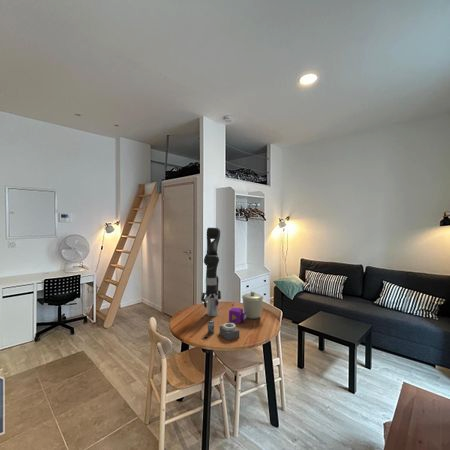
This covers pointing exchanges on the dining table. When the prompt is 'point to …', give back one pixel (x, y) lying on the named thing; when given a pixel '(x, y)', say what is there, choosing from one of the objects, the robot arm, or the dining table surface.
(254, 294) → the canister
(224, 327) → the camera body
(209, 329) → the lens
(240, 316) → the toy camera
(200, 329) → the dining table surface
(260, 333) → the dining table surface
